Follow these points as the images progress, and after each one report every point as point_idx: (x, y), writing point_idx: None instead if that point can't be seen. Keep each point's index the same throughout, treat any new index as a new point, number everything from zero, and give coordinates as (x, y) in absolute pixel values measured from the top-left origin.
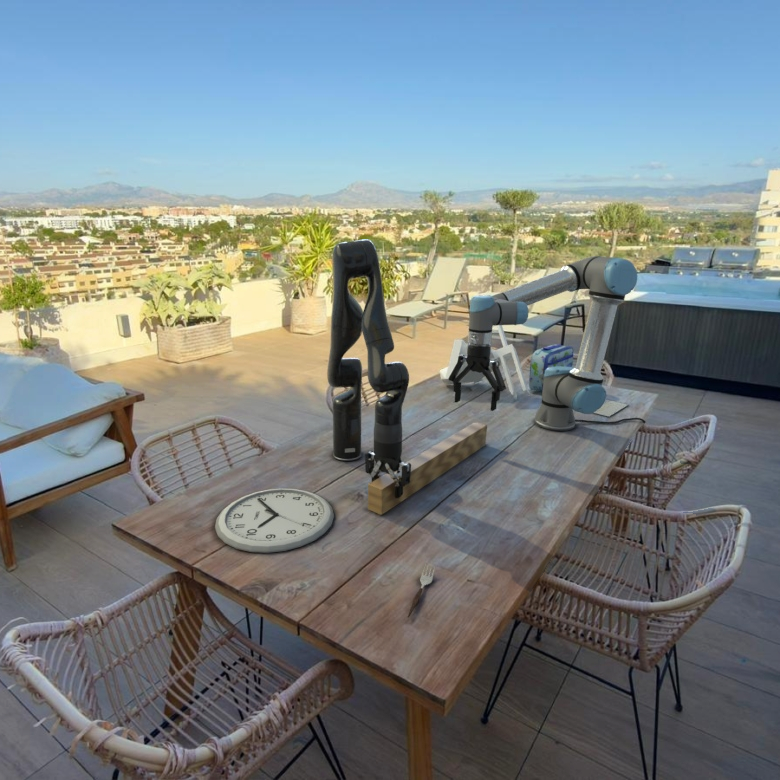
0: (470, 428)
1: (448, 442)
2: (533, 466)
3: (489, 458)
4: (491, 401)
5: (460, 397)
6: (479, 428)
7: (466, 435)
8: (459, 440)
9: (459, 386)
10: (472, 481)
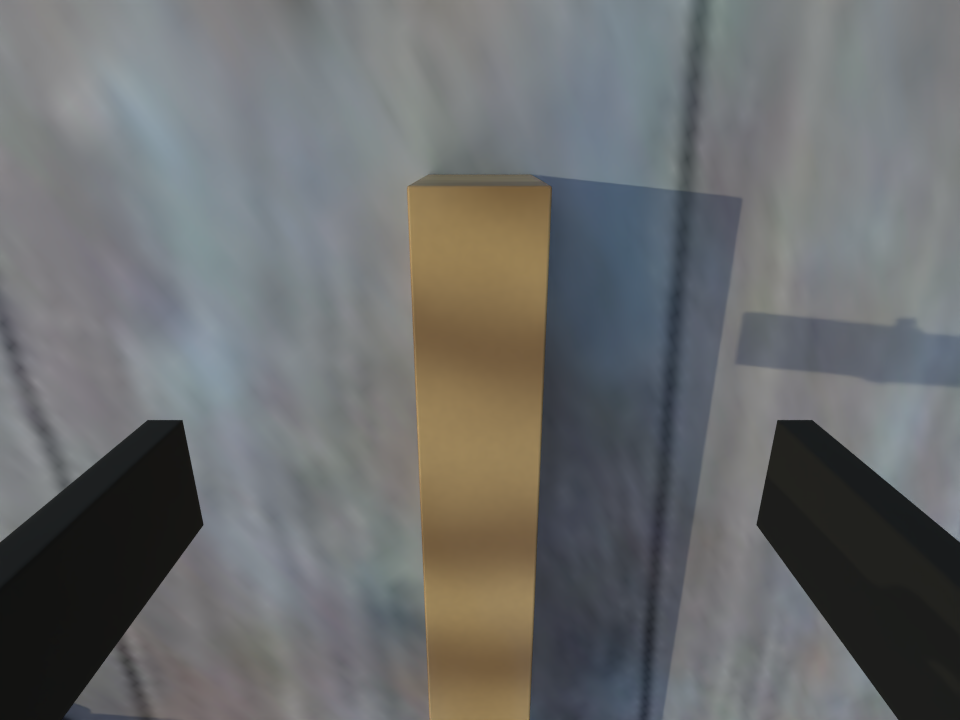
0: (464, 378)
1: (476, 689)
2: (944, 304)
3: (649, 370)
4: (841, 635)
5: (153, 445)
6: (532, 328)
7: (515, 527)
8: (520, 627)
9: (4, 678)
10: (674, 646)
